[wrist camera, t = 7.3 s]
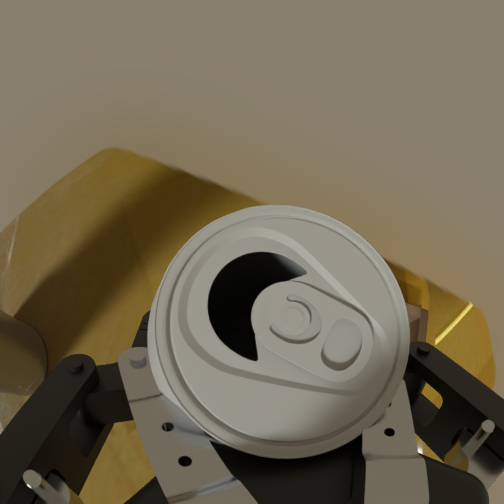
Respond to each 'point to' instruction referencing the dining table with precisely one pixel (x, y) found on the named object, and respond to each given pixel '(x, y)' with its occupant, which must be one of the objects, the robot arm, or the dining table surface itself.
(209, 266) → the beverage can
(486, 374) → the dining table surface
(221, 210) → the dining table surface
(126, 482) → the dining table surface
